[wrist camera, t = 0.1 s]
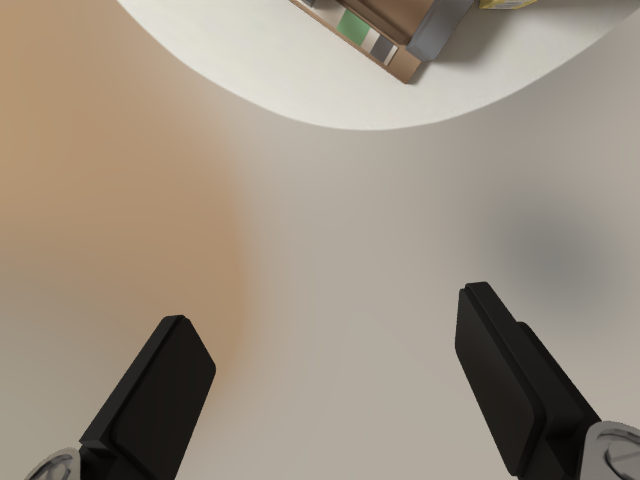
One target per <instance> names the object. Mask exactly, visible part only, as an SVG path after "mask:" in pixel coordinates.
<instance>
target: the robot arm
mask: <svg viewBox="0 0 640 480" xmlns="http://www.w3.org/2000/svg"><path fill="white" fill-rule="evenodd" d="M455 349H456V354H457V356H458V359H459V361H460V363H461V365H462V368H463V370H464V372H465V375H466V377H467V379H468V381H469V384H470V386H471V388H472V390H473V393H474V395H475V397H476V400H477V402H478V404H479V407H480V409H481V411H482V413H483V415H484V418H485V420H486V422H487V425H488V427H489V429H490V432H491V434H492V436H493V438H494V441H495V443H496V445H497V448H498V450H499V452H500V454H501V457H502V459H503V461H504V464H505V466H506V468H507V470H508V472H509V473H510V474H511V476H517V477H518V479H519V480H640V430H638V429H637V428H634V427H631V426H629V425H626V424H623V423H619V422H612V421H603V422H602V420H601V419H600V418H599V416H598V415H597V414H596V412H595V411H594V410H593V409H592V407H591V406H590V405H589V403H588V402H587V401H586V399H585V398H584V397H583V396H582V395H581V393H580V392H579V390H578V389H577V388H576V386H575V385H574V384H573V383H572V382H571V380H570V379H569V378H568V376H567V375H566V374H565V372H564V371H563V370H562V368H561V367H560V366H559V364H558V363H557V362H556V360H555V359H554V358H553V357H552V355H551V354H550V353H549V352H548V350H547V349H546V348H545V346H544V345H543V344H542V342H541V341H540V340H539V339H538V337H537V336H536V335H535V333H534V332H533V331H532V329H531V328H530V327H529V326H528V325H527V324H526V323H524V322H516V320H515V319H514V318H513V316H512V315H511V313H510V312H509V311H508V309H507V308H506V307H505V305H504V304H503V303H502V301H501V300H500V298H499V297H498V296H497V294H496V293H495V292H494V290H493V289H492V288H491V286H490V285H489V284H488V283H487V282H477V283H467V284H466V285H465V288H464V289H460V291H459V302H458V314H457V325H456V336H455ZM215 373H216V366H215V363H214V362H213V360H212V358H211V357H210V355H209V353H208V351H207V349H206V348H205V346H204V344H203V342H202V341H201V339H200V337H199V335H198V334H197V332H196V330H195V328H194V327H193V325H192V324H191V321H190V320H189V319H187V318H186V317H185V316H183V315H175V316H166V317H164V318H163V319H162V320H161V322H160V323H159V325H158V326H157V328H156V329H155V331H154V332H153V334H152V335H151V336H150V338H149V339H148V341H147V342H146V344H145V345H144V347H143V348H142V350H141V351H140V352H139V354H138V356H137V357H136V358H135V360H134V361H133V363H132V364H131V366H130V367H129V369H128V370H127V372H126V373H125V374H124V376H123V377H122V379H121V380H120V382H119V383H118V385H117V386H116V388H115V389H114V390H113V392H112V393H111V395H110V396H109V398H108V399H107V401H106V402H105V404H104V405H103V407H102V408H101V409H100V411H99V413H98V414H97V415H96V417H95V418H94V420H93V421H92V422H91V424H90V425H89V427H88V428H87V430H86V431H85V433H84V434H83V436H82V437H81V439H80V440H79V442H80V443H81V444H83V445H82V446H81V448H80V449H79V451H77V450H76V449H75V448H65V449H62V450H59V451H57V452H55V453H53V454H51V455H50V456H48V457H47V458H46V459H44V460H43V461H42V462H40V463H39V464H38V465H37V466H36V467H35V468H34V469H33V470H32V471H31V472H30V473H29V474H28V475H27V477H26V478H25V479H24V480H174V479H175V477H176V475H177V472H178V469H179V467H180V464H181V461H182V459H183V457H184V454H185V451H186V449H187V446H188V443H189V441H190V438H191V436H192V433H193V430H194V428H195V426H196V423H197V420H198V418H199V415H200V413H201V410H202V407H203V405H204V402H205V400H206V397H207V395H208V392H209V389H210V387H211V384H212V382H213V379H214V376H215Z"/></svg>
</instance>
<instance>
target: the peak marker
mask: <svg viewBox="0 0 640 480" xmlns="http://www.w3.org/2000/svg"><path fill="white" fill-rule="evenodd" d="M301 1H302V2H304V3H305V4H307V5H308V6H309V7H311V8H312V6H313V4H314V2H315V0H301Z"/></svg>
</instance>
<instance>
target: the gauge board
mask: <svg viewBox="0 0 640 480" xmlns="http://www.w3.org/2000/svg"><path fill="white" fill-rule="evenodd" d="M289 1H291V2H292V3H293V4H295V5H296V6H297V7H299V8H300V9H302V10H303V11H304V12H306V13H307V14H308V15H310V16H311V17H313V18H314V19H315V20H317V21H318V22H320V23H321V24H322V25H324V26H325V27H326V28H328V29H329V30H331V31H332V32H333V33H335V34H336V35H337V36H339V37H340V38H342V39H343V40H344V41H346V42H347V43H348V44H350V45H351V46H353V47H354V48H355V49H357V50H358V51H360V52H361V53H362V54H364V55H365V56H366V57H368V58H369V59H371V60H372V61H373V62H375V63H376V64H377V65H379V66H380V67H382V68H383V69H384V70H386V71H387V72H388V73H390V74H391V75H393V76H394V77H395V78H397V79H398V80H400V81H401V82H402V83H404V84H407V83H408V81H409V80H410V78H411V76H412V75H413V73H414V72H415V70H416V69H417V67H418V66H419V64H420V63H421V62H423V61H433V60H434V59H435V58H436V56H437V55H438V53H439V52H440V50H441V49H442V48H443V46H444V45H445V43H446V42H447V40H448V39H449V37H450V36H451V34H452V33H453V31H454V30H455V28H456V27H457V25H458V24H459V22H460V21H461V19H462V18H463V16H464V15H465V13H466V12H467V10H468V9H469V7H470V6H471V4H472V3H473V1H474V0H315V2H314V4H313V6H312V8H311V7H309V6H308V5H307V4H305V3H304V2H302V1H301V0H289Z"/></svg>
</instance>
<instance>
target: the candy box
mask: <svg viewBox="0 0 640 480" xmlns="http://www.w3.org/2000/svg"><path fill="white" fill-rule="evenodd" d="M536 1H538V0H480V5H479V9H518V8H521V7H524V6H526V5H528V4H531V3H533V2H536Z"/></svg>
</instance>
